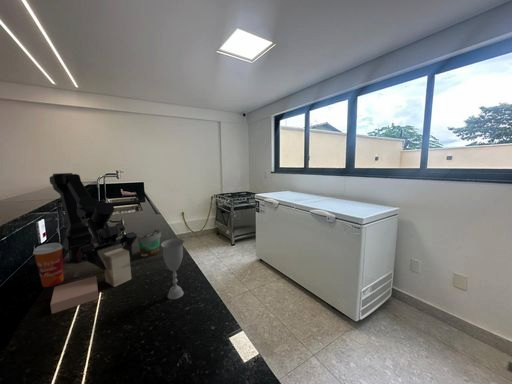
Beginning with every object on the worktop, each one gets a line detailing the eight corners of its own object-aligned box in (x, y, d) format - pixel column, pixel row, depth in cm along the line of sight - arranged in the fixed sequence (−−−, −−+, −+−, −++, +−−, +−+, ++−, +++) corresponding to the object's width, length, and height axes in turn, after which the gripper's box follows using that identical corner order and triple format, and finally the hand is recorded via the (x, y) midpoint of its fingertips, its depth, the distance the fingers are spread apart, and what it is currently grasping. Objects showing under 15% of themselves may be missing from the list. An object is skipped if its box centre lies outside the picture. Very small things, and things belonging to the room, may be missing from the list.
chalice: (168, 288, 74) (165, 239, 72) (188, 287, 75) (186, 238, 72) (161, 302, 67) (157, 247, 64) (183, 301, 68) (180, 247, 65)
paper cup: (34, 291, 72) (27, 252, 70) (43, 280, 79) (37, 244, 77) (63, 285, 76) (58, 248, 74) (70, 275, 83) (65, 240, 81)
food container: (151, 260, 95) (149, 238, 94) (139, 258, 96) (137, 237, 95) (167, 249, 107) (166, 230, 106) (156, 248, 108) (155, 229, 107)
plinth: (51, 313, 62) (50, 304, 61) (55, 295, 70) (54, 286, 70) (98, 298, 69) (97, 290, 68) (97, 283, 77) (96, 275, 77)
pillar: (105, 282, 78) (102, 253, 76) (122, 274, 83) (120, 247, 82) (114, 286, 75) (111, 257, 73) (131, 278, 80) (129, 251, 79)
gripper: (75, 224, 70) (95, 263, 66) (132, 212, 86) (151, 243, 82) (68, 242, 75) (86, 280, 71) (123, 228, 91) (140, 258, 87)
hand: (119, 264), depth 77 cm, fingers open, 9 cm apart
